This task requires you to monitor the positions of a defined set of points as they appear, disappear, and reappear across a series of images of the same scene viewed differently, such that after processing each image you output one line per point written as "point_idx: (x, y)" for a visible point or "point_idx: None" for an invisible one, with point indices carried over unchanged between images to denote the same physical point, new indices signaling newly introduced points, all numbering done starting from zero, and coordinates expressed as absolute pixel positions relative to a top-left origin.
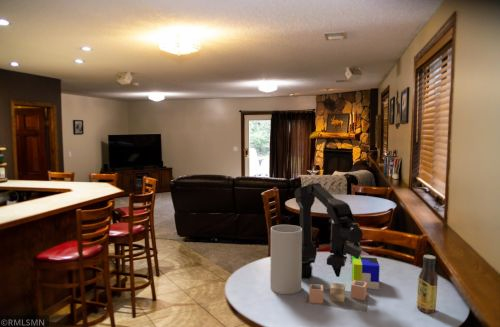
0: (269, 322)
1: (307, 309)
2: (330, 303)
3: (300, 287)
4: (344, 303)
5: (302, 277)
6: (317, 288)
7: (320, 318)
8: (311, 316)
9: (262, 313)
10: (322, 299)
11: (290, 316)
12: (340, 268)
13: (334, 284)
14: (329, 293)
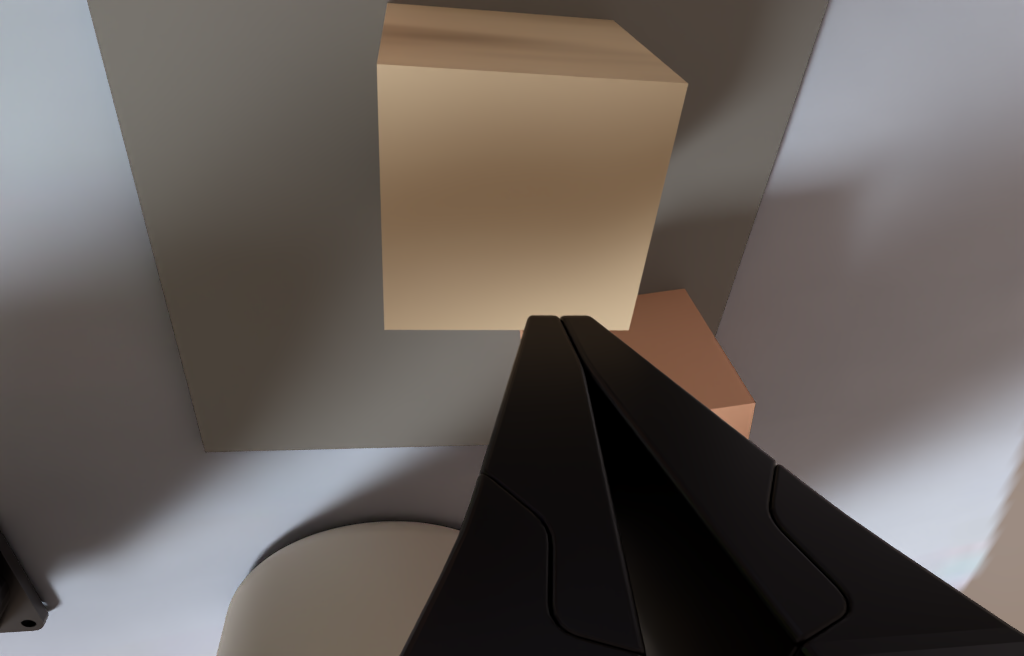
0: (987, 549)
1: (800, 393)
2: (676, 206)
3: (402, 552)
4: (654, 3)
5: (13, 577)
6: None
7: (1006, 262)
8: (948, 341)
9: None
10: (703, 323)
11: (921, 473)
12: (829, 515)
13: (464, 281)
14: (349, 250)
